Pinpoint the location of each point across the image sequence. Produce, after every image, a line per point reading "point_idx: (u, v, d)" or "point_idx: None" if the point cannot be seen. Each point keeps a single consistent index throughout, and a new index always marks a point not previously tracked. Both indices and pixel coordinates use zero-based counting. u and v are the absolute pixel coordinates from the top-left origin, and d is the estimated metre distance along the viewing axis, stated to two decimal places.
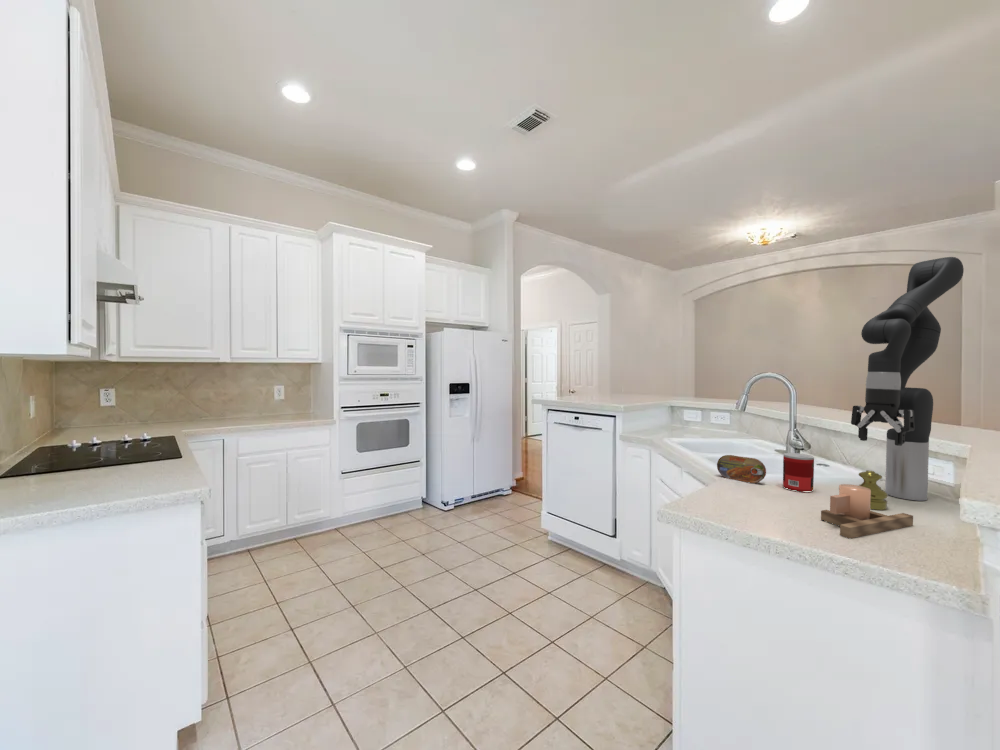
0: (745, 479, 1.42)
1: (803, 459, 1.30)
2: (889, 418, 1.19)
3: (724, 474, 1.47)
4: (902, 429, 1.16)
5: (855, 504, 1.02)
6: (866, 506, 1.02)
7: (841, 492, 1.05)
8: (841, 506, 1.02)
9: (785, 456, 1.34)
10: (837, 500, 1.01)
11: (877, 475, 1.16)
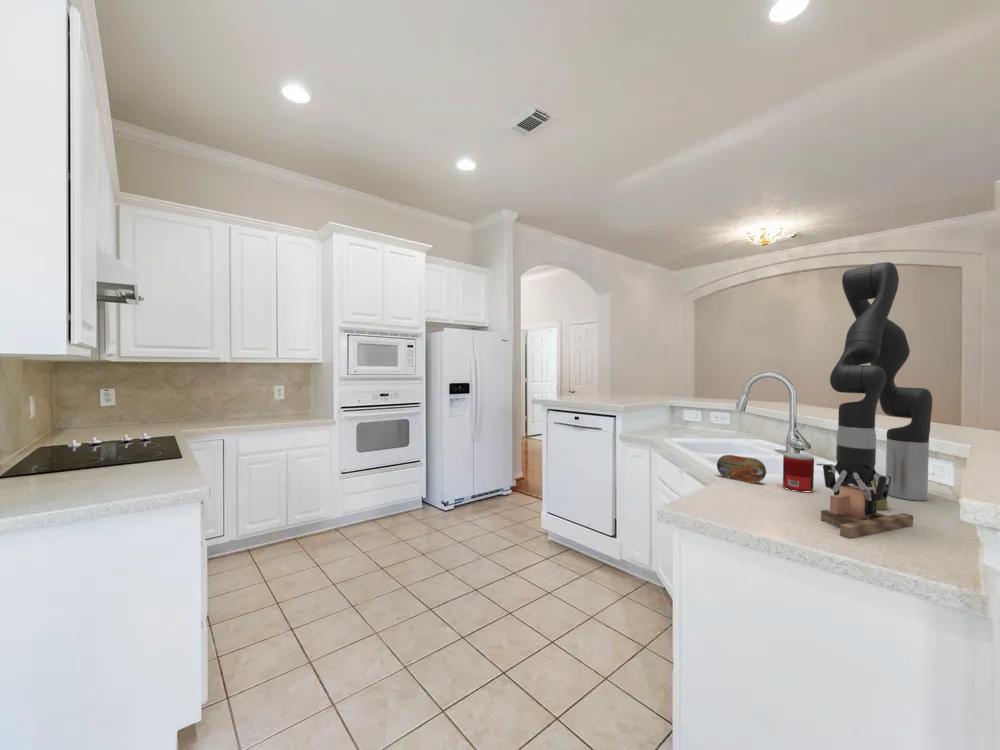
0: (745, 479, 1.42)
1: (803, 459, 1.30)
2: (861, 483, 1.02)
3: (724, 474, 1.47)
4: (873, 498, 1.00)
5: (855, 504, 1.02)
6: None
7: (841, 492, 1.05)
8: (841, 506, 1.02)
9: (785, 456, 1.34)
10: (837, 500, 1.01)
11: None
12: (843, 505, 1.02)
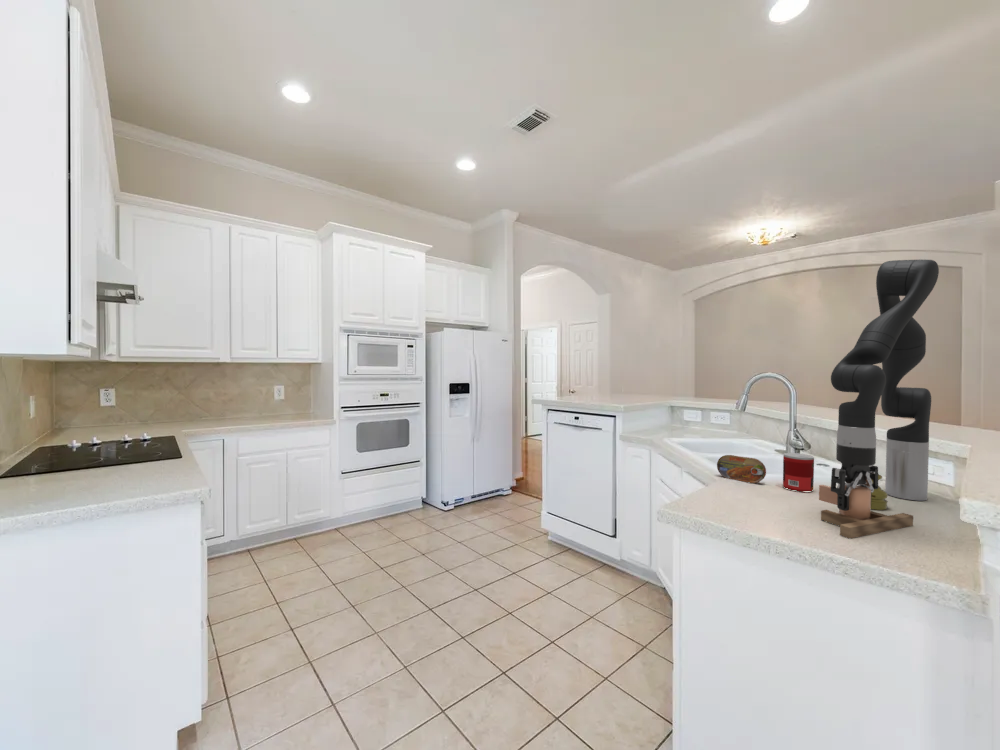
0: (745, 479, 1.42)
1: (803, 459, 1.30)
2: None
3: (724, 474, 1.47)
4: None
5: None
6: None
7: None
8: (826, 496, 1.10)
9: (785, 456, 1.34)
10: (820, 488, 1.12)
11: None
12: (829, 496, 1.10)
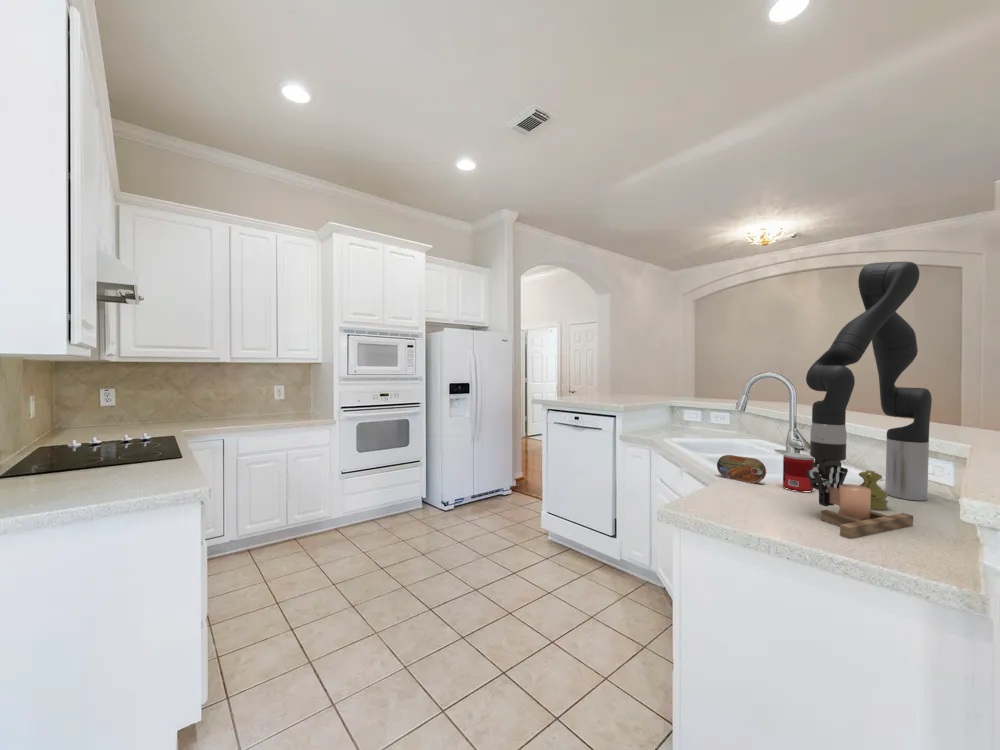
0: (745, 479, 1.42)
1: (803, 459, 1.30)
2: None
3: (724, 474, 1.47)
4: None
5: (839, 498, 1.07)
6: (844, 502, 1.04)
7: None
8: None
9: (785, 456, 1.34)
10: None
11: (877, 475, 1.16)
12: None
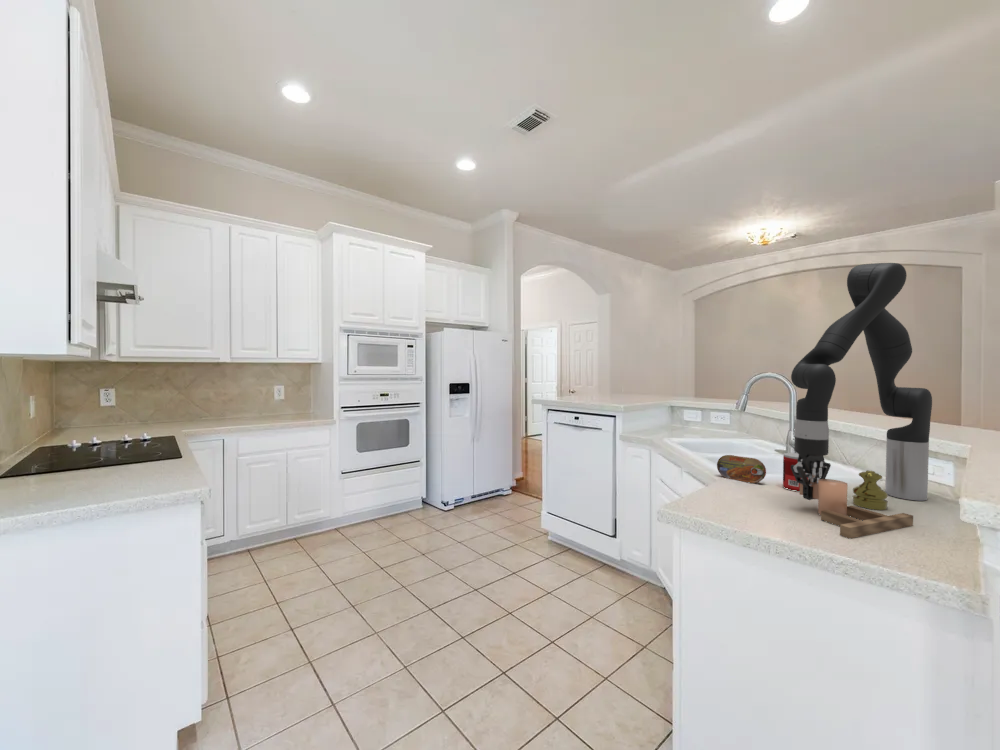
0: (745, 479, 1.42)
1: None
2: None
3: (724, 474, 1.47)
4: None
5: (818, 492, 1.11)
6: (822, 496, 1.09)
7: None
8: None
9: (785, 456, 1.34)
10: None
11: (877, 475, 1.16)
12: None
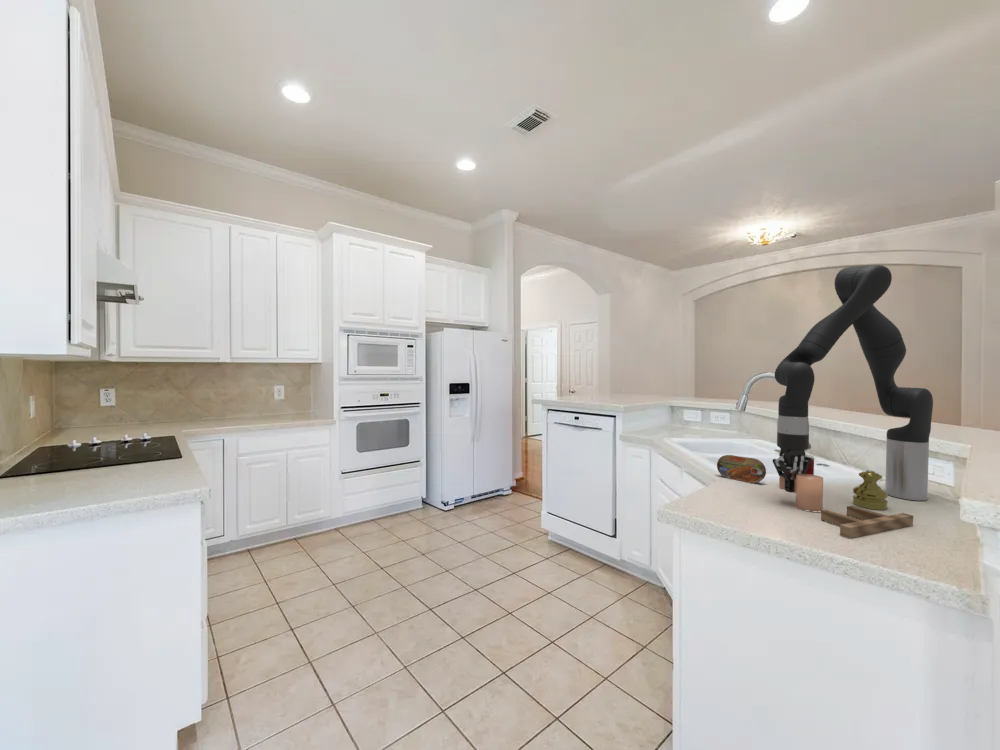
0: (745, 479, 1.42)
1: None
2: None
3: (724, 474, 1.47)
4: None
5: (796, 487, 1.17)
6: (799, 490, 1.15)
7: None
8: None
9: None
10: (780, 478, 1.22)
11: (877, 475, 1.16)
12: None
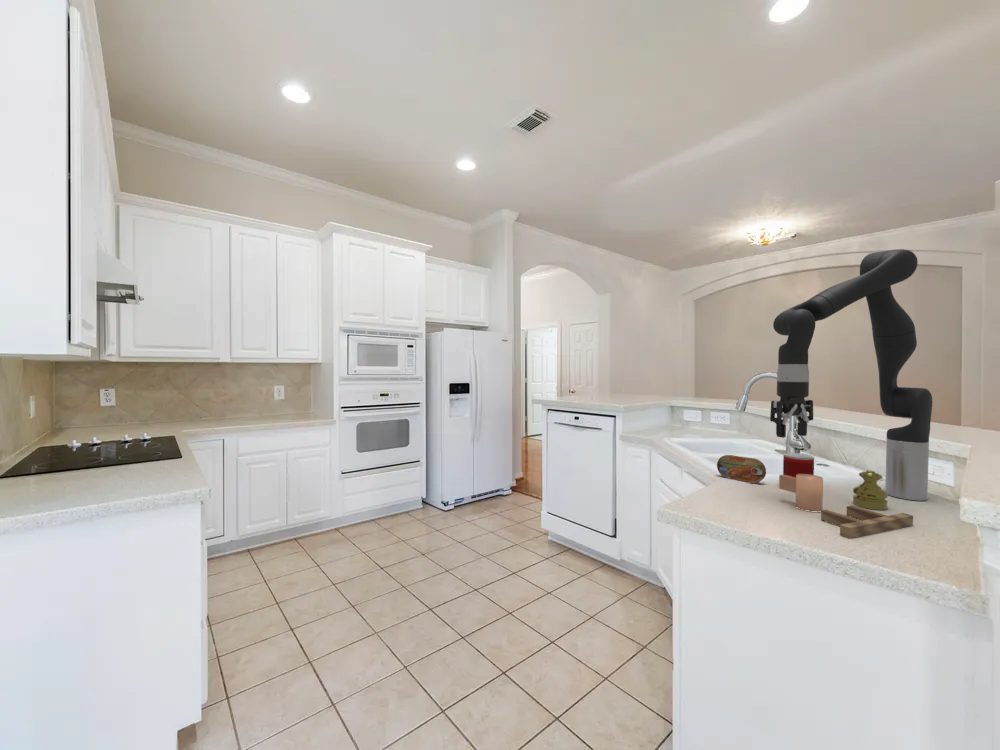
0: (745, 479, 1.42)
1: (803, 459, 1.30)
2: None
3: (724, 474, 1.47)
4: None
5: (795, 487, 1.17)
6: (799, 490, 1.15)
7: None
8: (785, 484, 1.21)
9: (785, 456, 1.34)
10: (780, 478, 1.22)
11: (877, 475, 1.16)
12: (788, 484, 1.20)
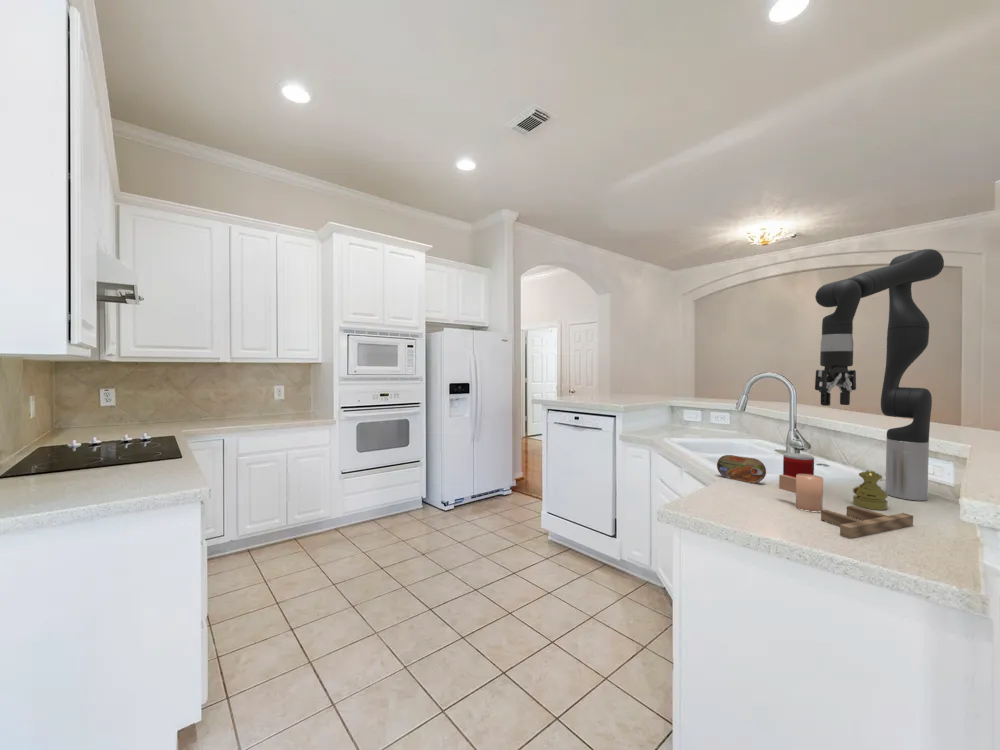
0: (745, 479, 1.42)
1: (803, 459, 1.30)
2: None
3: (724, 474, 1.47)
4: None
5: (795, 487, 1.17)
6: (799, 490, 1.15)
7: None
8: (785, 484, 1.21)
9: (785, 456, 1.34)
10: (780, 478, 1.22)
11: (877, 475, 1.16)
12: (788, 484, 1.20)
